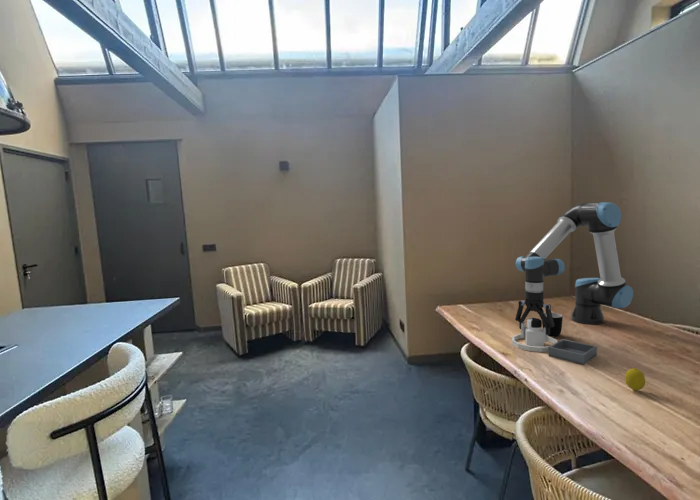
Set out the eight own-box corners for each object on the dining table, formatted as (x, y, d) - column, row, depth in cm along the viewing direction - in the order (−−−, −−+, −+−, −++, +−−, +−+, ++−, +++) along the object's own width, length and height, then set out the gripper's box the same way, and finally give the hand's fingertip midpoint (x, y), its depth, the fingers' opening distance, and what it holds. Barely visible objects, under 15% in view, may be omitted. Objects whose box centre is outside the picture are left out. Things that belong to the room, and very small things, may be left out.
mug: (565, 338, 184) (565, 317, 183) (545, 338, 185) (545, 317, 184) (555, 330, 196) (555, 310, 195) (536, 330, 197) (536, 311, 196)
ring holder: (524, 334, 191) (524, 331, 191) (565, 343, 176) (565, 339, 176) (504, 344, 179) (504, 340, 179) (546, 355, 165) (546, 350, 164)
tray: (562, 347, 172) (562, 339, 171) (596, 355, 161) (597, 346, 161) (548, 356, 163) (548, 347, 163) (583, 365, 153) (584, 355, 152)
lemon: (620, 387, 133) (621, 365, 132) (635, 386, 134) (636, 364, 133) (633, 395, 128) (634, 372, 127) (649, 393, 128) (650, 370, 127)
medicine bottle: (541, 342, 180) (541, 317, 179) (544, 347, 173) (544, 321, 172) (525, 341, 182) (525, 316, 181) (526, 346, 176) (526, 320, 174)
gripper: (506, 289, 182) (507, 335, 184) (556, 295, 164) (555, 346, 167) (515, 286, 186) (515, 331, 188) (563, 292, 169) (563, 342, 171)
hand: (534, 338), depth 178 cm, fingers closed on medicine bottle, 9 cm apart
